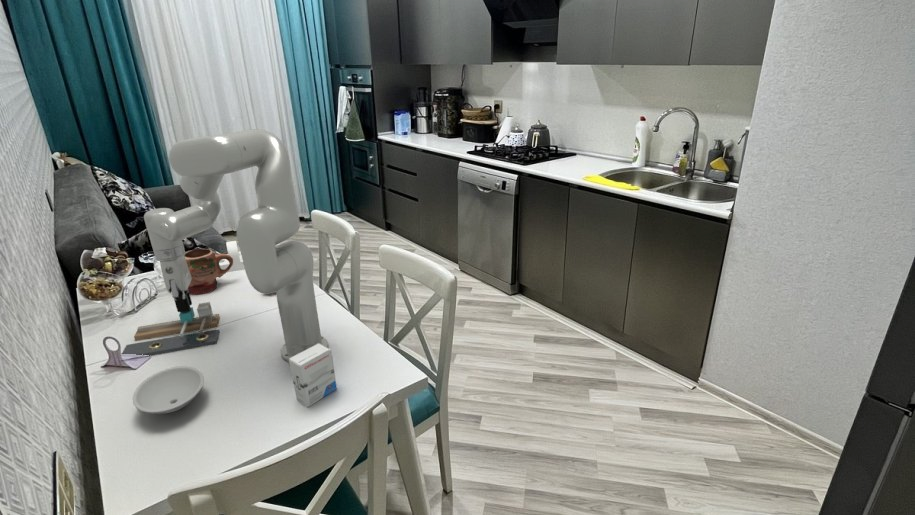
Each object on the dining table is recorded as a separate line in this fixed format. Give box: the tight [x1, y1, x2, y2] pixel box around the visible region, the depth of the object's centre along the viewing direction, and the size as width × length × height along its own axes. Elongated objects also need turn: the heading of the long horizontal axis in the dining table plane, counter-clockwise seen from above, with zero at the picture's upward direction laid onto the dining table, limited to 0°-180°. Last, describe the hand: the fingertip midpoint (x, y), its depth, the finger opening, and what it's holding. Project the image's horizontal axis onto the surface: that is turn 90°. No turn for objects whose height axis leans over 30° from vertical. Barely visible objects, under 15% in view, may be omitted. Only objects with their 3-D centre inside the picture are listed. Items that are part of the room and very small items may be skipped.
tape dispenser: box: [219, 240, 245, 274], centre depth 186 cm, size 10×18×11 cm, turn 116°
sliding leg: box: [178, 294, 195, 339], centre depth 138 cm, size 12×3×9 cm, turn 19°
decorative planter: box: [184, 248, 233, 295], centre depth 167 cm, size 20×12×14 cm, turn 120°
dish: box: [132, 365, 205, 415], centre depth 109 cm, size 18×14×5 cm
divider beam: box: [133, 301, 221, 342], centre depth 138 cm, size 13×22×6 cm, turn 109°
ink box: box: [288, 343, 338, 408], centre depth 110 cm, size 9×5×12 cm, turn 141°
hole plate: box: [121, 328, 221, 357], centre depth 134 cm, size 7×24×1 cm, turn 109°
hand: (185, 307), depth 141 cm, fingers closed on sliding leg, 2 cm apart
